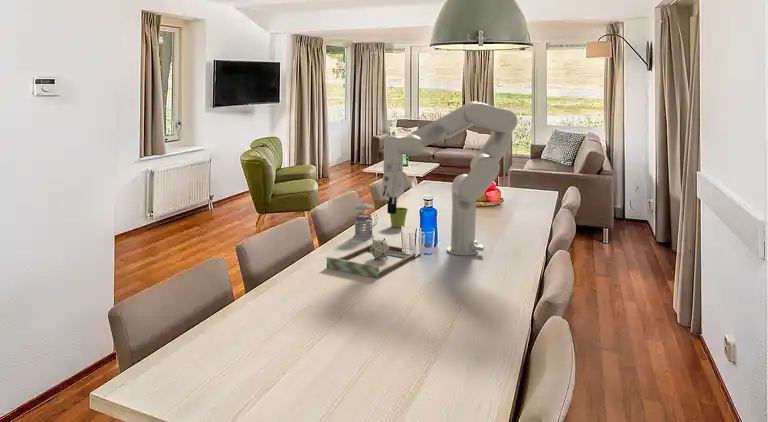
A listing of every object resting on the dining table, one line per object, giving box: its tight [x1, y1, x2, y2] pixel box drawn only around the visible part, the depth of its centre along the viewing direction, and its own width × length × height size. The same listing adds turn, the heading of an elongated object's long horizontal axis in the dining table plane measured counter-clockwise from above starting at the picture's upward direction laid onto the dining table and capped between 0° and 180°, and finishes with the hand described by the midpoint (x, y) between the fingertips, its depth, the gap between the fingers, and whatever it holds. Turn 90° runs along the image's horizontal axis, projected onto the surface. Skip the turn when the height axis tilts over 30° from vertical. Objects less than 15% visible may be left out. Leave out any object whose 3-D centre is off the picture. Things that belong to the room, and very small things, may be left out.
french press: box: [352, 181, 379, 240], centre depth 236 cm, size 10×12×25 cm
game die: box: [368, 237, 392, 261], centre depth 206 cm, size 9×8×10 cm
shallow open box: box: [326, 243, 416, 279], centre depth 204 cm, size 22×33×4 cm
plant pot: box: [389, 206, 409, 229], centre depth 256 cm, size 9×9×9 cm
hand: (391, 213), depth 212 cm, fingers closed
